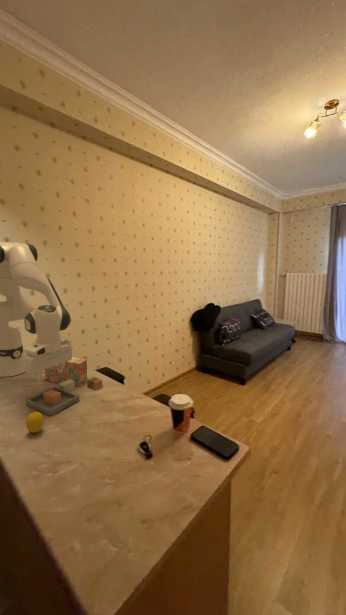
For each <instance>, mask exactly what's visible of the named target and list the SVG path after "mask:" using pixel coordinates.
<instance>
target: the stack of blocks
mask: <svg viewBox="0 0 346 615" xmlns="http://www.w3.org/2000/svg"><path fill="white" fill-rule="evenodd" d="M87 364H88V362H87V358H86V359H85V358H82V357H81V358H80V357H75V356H72V359H71V360H69V361H66V362H65V366H64V368H63V372H62V373H58V368H59V367H60V364H58V365H56V366H53V367H51V368H48V369H45V370H44V375H45V378H44V379H45V381H49V382H52V383H57V384H59V383H61V382H64V381H66V380H69V379H70V380H73V381H75V388H80V387H82V386H84V385H85V384H87V379H88V365H87Z"/></svg>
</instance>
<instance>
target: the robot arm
mask: <svg viewBox="0 0 346 615" xmlns="http://www.w3.org/2000/svg"><path fill="white" fill-rule="evenodd" d="M37 261H38V250H37V248H36V246H34V245H33V244H31V243H23V242H22V243H21V242H16V241H14V242H13V241H9V242H8V241H6V242H5V241H0V295H1V296H3V297H5V301H0V378H1V377H2V378H5V377H13V376H17V375H20V374H23V373H26V374H29V375H34V374H35V376H36V377H37V381H38V382H42V381H44V379H45V378H44V376H43V375H41V373H42V371H45V369H48V368H51V367H53V366H56V365H58V364H60V367H59V368H58V373H62V372H63V368H64V366H65V362H66V361H69V360H71V359H72V357H73V351H72V346H71V345H72V343H71V341H70V340H68V339H64V340H62V341H61V339H62V338H61V334H60V332H62V331H66V329H67V328H68V327H69V326H70V325H71V322H72V320H71V319H72V318H71V315H70V312H69V311H68V310H67V309H66V307H65V305H64V304H63V302H62V300H61V298H60V296H59V294H58V292H57V290H56V288H55V287H54V284H53V283H52V281H51V280H50V278H48V277H47V276H45V275H44V274H43V273H42V272H41V270H40V269H39V266H38V263H37ZM20 287H21V288H24V289H26V290H31V291H36V292H38V293H41V294H42V295H44V296H45V298H46V300H47V302H48V304H45V305H44V304H43V305H40V306H38V307H36V310H35V311H34V307H33V305H32V303H31V302H30V301H29V300H28V299H26V298H24V296H23V295H22V293H21V290H20ZM21 320H24V323H23V324H24V328H25V329H24V330H25V331H26V332H28V333H30V334H32V335H37V336H36V341H35V342H33V343H32V344H31V345H29V346H27V347H26V348H25V349H24V346H23V342H22V333H21V331H20V329H17V328H15V327H12V326H10V325H9V322H15V321H21Z"/></svg>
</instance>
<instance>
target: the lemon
mask: <svg viewBox="0 0 346 615" xmlns="http://www.w3.org/2000/svg"><path fill="white" fill-rule="evenodd" d="M44 420H45V418H44V417H43V413H42V412H39V411H33V412H31V413H30V414H28V416H27V418H26V422H25V424H26V426H25V427H26V429H27V430H28V431H29V432H30V433H34V434H35V433H38V432H39V431H40V430H41V429H42V428H43V427H44V423H45V421H44Z"/></svg>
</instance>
